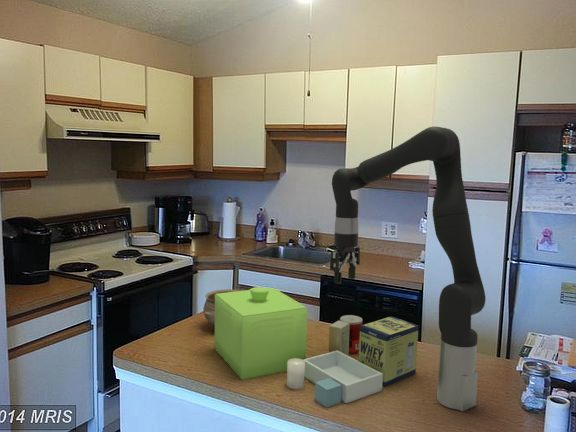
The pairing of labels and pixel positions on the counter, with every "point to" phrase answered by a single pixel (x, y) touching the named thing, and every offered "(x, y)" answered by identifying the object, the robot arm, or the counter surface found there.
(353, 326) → the canned food
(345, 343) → the skincare box
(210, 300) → the cooking pot
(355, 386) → the tote
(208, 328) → the counter surface
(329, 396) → the cube
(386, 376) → the protein box
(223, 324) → the canister
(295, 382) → the white piece
